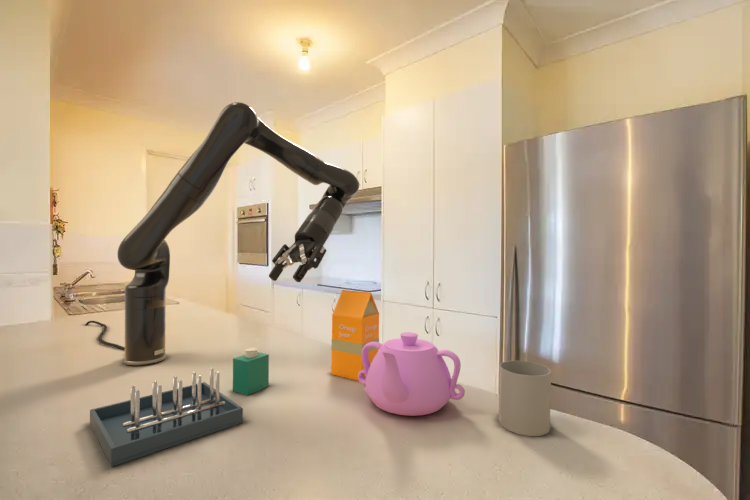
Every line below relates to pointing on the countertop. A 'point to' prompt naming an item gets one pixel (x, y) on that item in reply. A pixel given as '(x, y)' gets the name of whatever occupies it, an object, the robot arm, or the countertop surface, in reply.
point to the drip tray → (119, 441)
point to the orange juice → (353, 332)
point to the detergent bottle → (250, 372)
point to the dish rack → (157, 406)
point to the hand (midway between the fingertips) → (283, 279)
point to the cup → (524, 397)
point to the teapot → (409, 376)
